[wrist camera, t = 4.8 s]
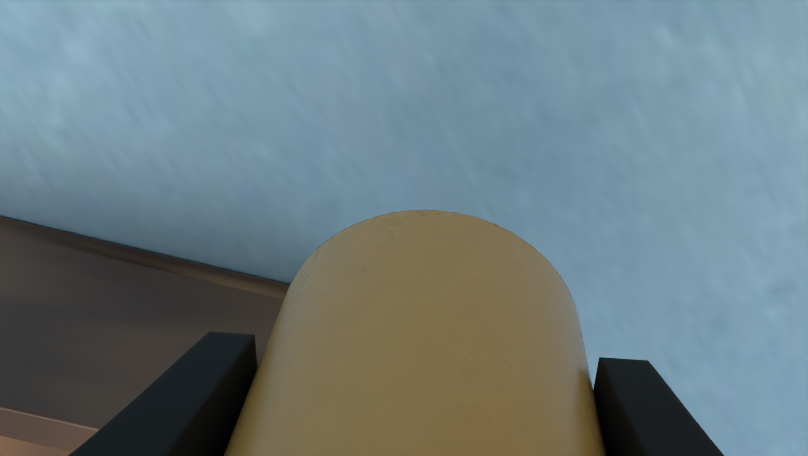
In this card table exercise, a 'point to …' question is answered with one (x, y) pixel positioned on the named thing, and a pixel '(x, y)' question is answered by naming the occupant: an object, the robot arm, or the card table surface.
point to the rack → (103, 329)
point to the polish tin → (423, 349)
